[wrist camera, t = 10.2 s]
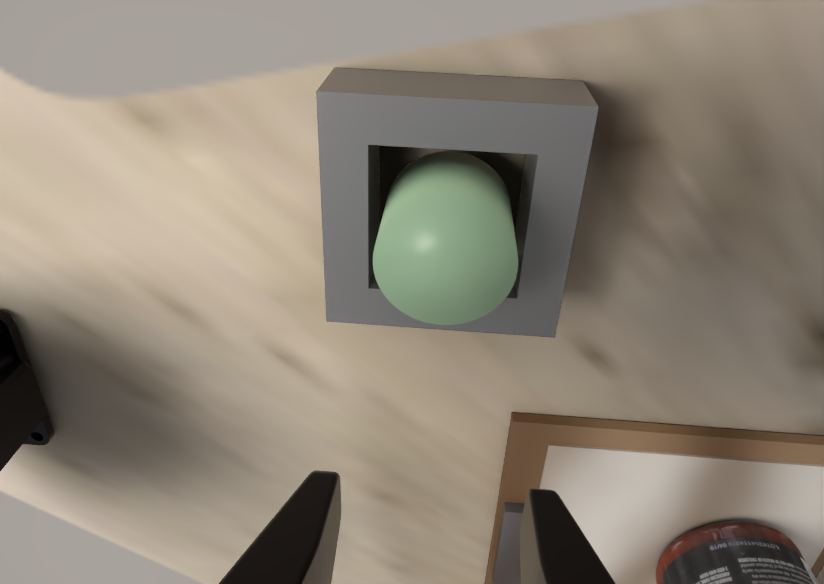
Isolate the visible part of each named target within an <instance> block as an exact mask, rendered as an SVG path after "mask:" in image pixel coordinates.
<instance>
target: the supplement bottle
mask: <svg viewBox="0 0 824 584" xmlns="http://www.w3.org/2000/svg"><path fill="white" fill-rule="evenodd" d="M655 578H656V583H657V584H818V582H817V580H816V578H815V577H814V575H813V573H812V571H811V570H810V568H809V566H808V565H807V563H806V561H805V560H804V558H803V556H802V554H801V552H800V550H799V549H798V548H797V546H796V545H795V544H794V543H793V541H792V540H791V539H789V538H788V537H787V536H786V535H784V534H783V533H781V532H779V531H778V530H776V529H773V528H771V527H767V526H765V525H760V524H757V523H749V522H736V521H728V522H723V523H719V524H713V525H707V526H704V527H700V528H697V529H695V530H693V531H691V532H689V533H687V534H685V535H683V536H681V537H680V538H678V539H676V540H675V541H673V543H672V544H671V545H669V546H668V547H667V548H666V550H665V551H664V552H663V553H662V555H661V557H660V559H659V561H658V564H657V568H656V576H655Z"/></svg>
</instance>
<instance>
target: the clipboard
mask: <svg viewBox="0 0 824 584" xmlns="http://www.w3.org/2000/svg"><path fill="white" fill-rule="evenodd" d="M532 488H534V489H546V490H553V491H555V492H556V493H557V494H558V495H559V496H560V498H561V499H562V501H563V502H564V504H565V506H566V507H567V509H568V510H569V512H570V513H571V515H572V516H573V518H574V520H575V521H576V523H577V524H578V526H579V527H580V529H581V530H582V532H583V533H584V535H585V537H586V538H587V540H588V541H589V543H590V544H591V546H592V547H593V549H594V551H595V552H596V554H597V555H598V557H599V558H600V560H601V561H602V563H603V565H604V566H605V568H606V569H607V571H608V572H609V574H610V575H611V577H612V579H613V580H614V582H615V583H616V584H657V583H656V578H655V576H656V568H657V564H658V561H659V559H660V557H661V555H662V553H663V552H664V551H665V550H666V548H667V547H668V546H669V545H671V544H672V543H673V541H675V540H676V539H678V538H680V537H681V536H683V535H685V534H687V533H689V532H691V531H693V530H695V529H697V528H700V527H704V526H707V525H713V524H719V523H723V522H728V521H736V522H749V523H757V524H760V525H765V526H767V527H771V528H773V529H776V530H778V531H779V532H781V533H783V534H784V535H786V536H787V537H788V538H789V539H791V540H792V541H793V543H794V544H795V545H796V546H797V548H798V549H799V550H800V552H801V554H802V556H803V558H804V560H805V561H806V563H807V565H808V566H809V568H810V570H811V571H812V573H813V575H814V577H815V578H816V577H817V575H818V574H819V572H820V570H821V569H822V567H823V565H824V436H815V435H801V434H788V433H775V432H762V431H749V430H736V429H723V428H710V427H697V426H683V425H670V424H657V423H644V422H631V421H618V420H605V419H592V418H578V417H565V416H552V415H539V414H526V413H513V412H512V414H511V421H510V427H509V433H508V440H507V446H506V452H505V458H504V465H503V471H502V477H501V484H500V490H499V496H498V503H497V509H496V515H495V522H494V528H493V534H492V540H491V547H490V553H489V559H488V566H487V572H486V578H485V584H521V570H520V526H521V520H522V515H523V510H524V504H525V499H526V494H527V492H528V490H529V489H532Z"/></svg>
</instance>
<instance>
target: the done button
mask: <svg viewBox="0 0 824 584" xmlns="http://www.w3.org/2000/svg"><path fill="white" fill-rule="evenodd" d="M373 270H374V275H375V278H376V281H377V284H378V286H379V288H380V289H381V291H382V293H383V294H384V295H385V297H386V298H387V299H388V300H389V301H390V303H391V304H392V305H393V306H395V307H396V308H397V309H398V310H400V311H401V312H403V313H404V314H406V315H408V316H410V317H412V318H414V319H416V320H419V321H422V322H426V323H430V324H437V325H457V324H463V323H467V322H471V321H474V320H476V319H479V318H481V317H483V316H485V315H487V314H488V313H490V312H491V311H493V310H494V309H495V308H497V307H498V306H499V305H500V304H501V303H502V302H503V301H504V300H505V298H506V297H507V296H508V294H509V293H510V291H511V289H512V287H513V285H514V282H515V280H516V276H517V272H518V253H517V246H516V239H515V232H514V225H513V218H512V210H511V203H510V198H509V194H508V191H507V188H506V186H505V184H504V182H503V180H502V179H501V177H500V176H499V175H498V173H497V172H496V171H495V170H494V169H493V168H492V167H491V166H489V165H488V164H487V163H485V162H484V161H482V160H480V159H478V158H476V157H474V156H471V155H469V154H465V153H461V152H453V151H444V152H436V153H432V154H428V155H425V156H423V157H420V158H418V159H417V160H415V161H413V162H412V163H410V164H409V165H408V166H406V167H405V168H404V169H403V170H402V171H401V172H400V173H399V175H398V176H397V177H396V178H395V180H394V182H393V184H392V185H391V188H390V191H389V193H388V197H387V201H386V205H385V209H384V213H383V216H382V220H381V224H380V228H379V232H378V235H377V239H376V243H375V247H374V251H373Z"/></svg>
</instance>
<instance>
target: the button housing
mask: <svg viewBox="0 0 824 584" xmlns="http://www.w3.org/2000/svg"><path fill="white" fill-rule="evenodd" d="M316 94H317V117H318V139H319V162H320V184H321V207H322V229H323V252H324V274H325V297H326V319H327V321H329V322H343V323H357V324H371V325H385V326H399V327H413V328H427V329H441V330H455V331H470V332H484V333H498V334H512V335H526V336H540V337H554V338H555V334H556V329H557V324H558V318H559V313H560V308H561V303H562V297H563V292H564V287H565V282H566V276H567V271H568V266H569V261H570V255H571V250H572V245H573V240H574V234H575V229H576V224H577V219H578V214H579V208H580V203H581V198H582V193H583V187H584V182H585V177H586V172H587V166H588V161H589V156H590V151H591V145H592V140H593V135H594V130H595V124H596V119H597V114H598V109H599V106H598V105H597V103H596V102H595V100H594V98H593V97H592V95H591V94H590V92H589V90H588V89H587V87H586V86H585V84H584V82H583V81H577V80H558V79H540V78H521V77H502V76H483V75H465V74H446V73H427V72H409V71H390V70H371V69H352V68H334V69H333V70H332V72H331V73H330V74H329V76H328V77H327V78H326V79H325V81H324V82H323V83H322V85H321V86H320V87H319V89H318V90H317V91H316ZM379 145H381V146H398V147H415V148H432V149H449V150H466V151H483V152H500V153H517V154H526V155H525V162H524V170H523V177H522V185H521V192H520V199H519V207H518V214H517V222H516V229H515V239H516V246H517V253H518V272H517V276H516V280H515V282H514V285H513V287H512V289H511V291H510V293H509V294H508V296H507V297H506V298H505V300H504V301H503V302H502V303H501V304H500V305H499V306H498V307H497V308H495V309H494V310H493V311H491V312H490V313H488V314H487V315H485V316H483V317H481V318H479V319H476V320H474V321H471V322H467V323H463V324H457V325H437V324H430V323H426V322H422V321H419V320H416V319H414V318H412V317H410V316H408V315H406V314H404V313H403V312H401V311H400V310H398V309H397V308H396V307H395V306H393V305H392V304H391V303H390V301H389V300H388V299H387V298H386V297H385V295H384V294H383V293H382V291H381V289H380V288H379V286H378V284H377V281H376V278H375V275H374V270H373V251H374V247H375V243H376V239H377V235H378V232H379Z"/></svg>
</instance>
